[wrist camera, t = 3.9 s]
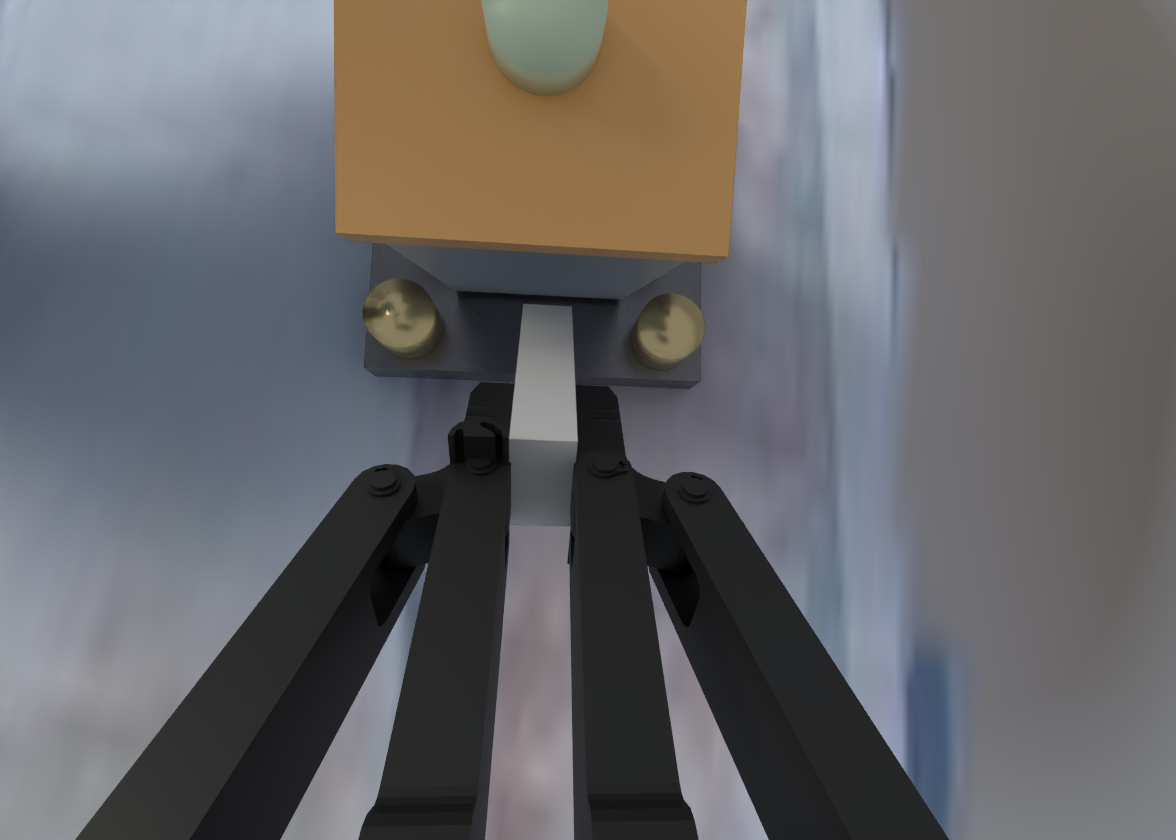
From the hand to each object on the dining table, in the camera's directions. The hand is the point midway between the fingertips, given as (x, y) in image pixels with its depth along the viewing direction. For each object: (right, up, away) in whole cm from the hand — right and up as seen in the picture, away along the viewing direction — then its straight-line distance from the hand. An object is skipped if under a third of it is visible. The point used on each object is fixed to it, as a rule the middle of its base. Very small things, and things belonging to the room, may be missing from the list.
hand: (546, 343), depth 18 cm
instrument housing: (-1, +9, +8) cm, 12 cm away
